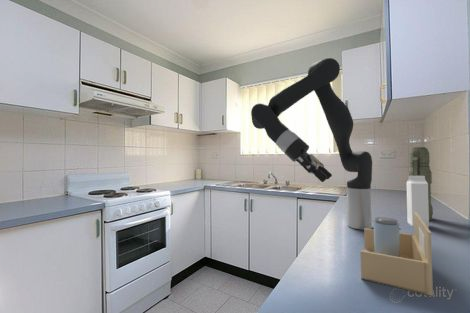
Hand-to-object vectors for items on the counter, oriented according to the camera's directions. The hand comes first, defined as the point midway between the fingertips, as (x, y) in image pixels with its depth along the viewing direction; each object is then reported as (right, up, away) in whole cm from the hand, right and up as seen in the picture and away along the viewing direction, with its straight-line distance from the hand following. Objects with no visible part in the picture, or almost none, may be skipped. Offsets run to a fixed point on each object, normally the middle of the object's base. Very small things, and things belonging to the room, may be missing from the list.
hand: (327, 178), depth 72 cm
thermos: (+62, -23, +38) cm, 77 cm away
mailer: (+13, -24, -10) cm, 29 cm away
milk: (+52, -24, +27) cm, 63 cm away
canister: (+13, -23, -10) cm, 28 cm away
